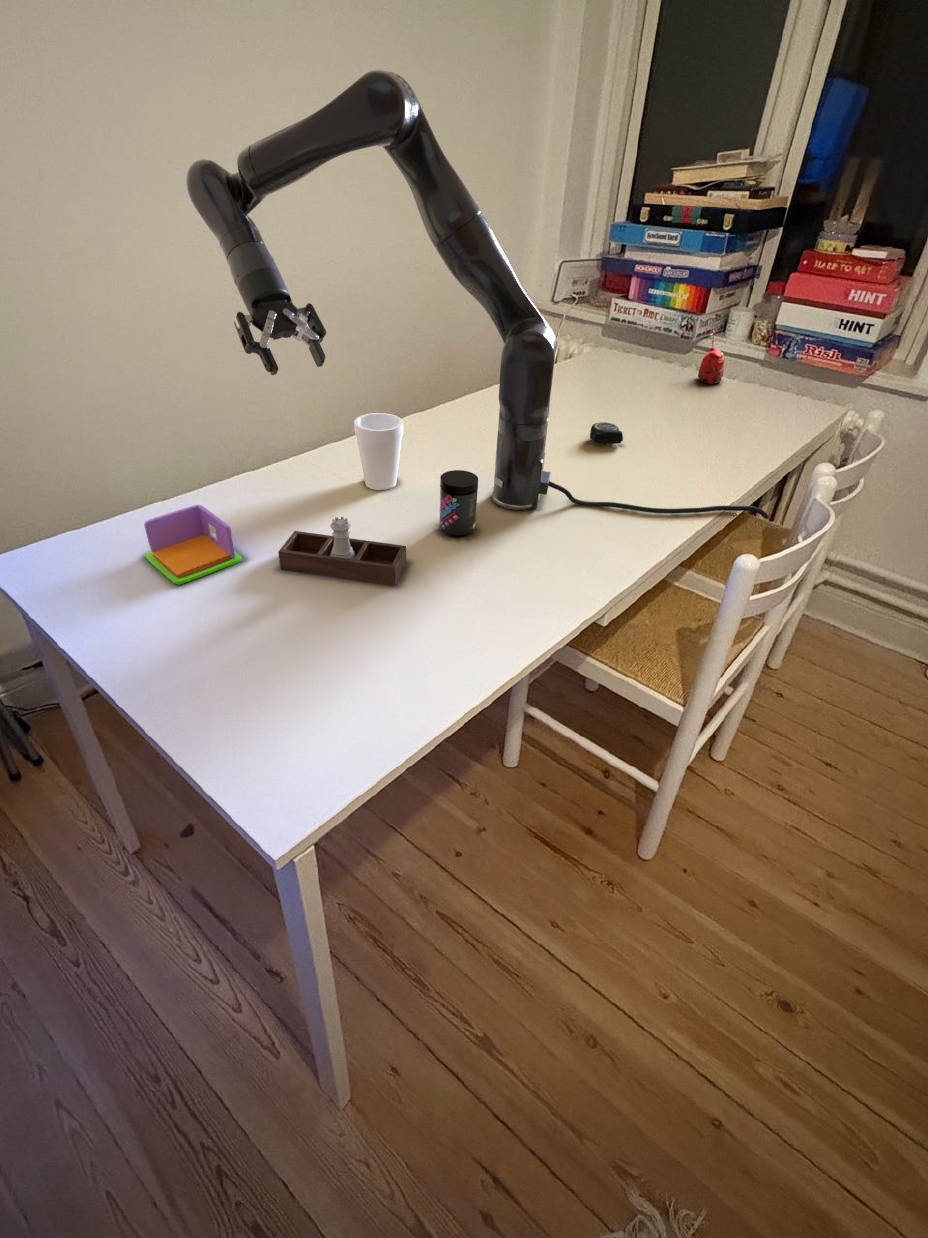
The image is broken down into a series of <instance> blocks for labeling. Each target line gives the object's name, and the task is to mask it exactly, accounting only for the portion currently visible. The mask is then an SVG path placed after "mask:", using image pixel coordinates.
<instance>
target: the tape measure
mask: <svg viewBox="0 0 928 1238" xmlns="http://www.w3.org/2000/svg"><path fill="white" fill-rule="evenodd" d="M623 436H624V435H623V432H622V430H620V428H619V426H617V424H615V423H611V422H606V421H603V422H602V421H601V422H595V423H594V424H592V425H591V428H590V431H589V438H590V440H591V441H592V442H593V443H594V444H598V445H605V446H606V445H612V444H613V445H614V444H617V445H618V444H621V443H622V442H623V441H624V437H623Z"/></svg>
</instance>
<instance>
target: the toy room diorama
mask: <svg viewBox="0 0 928 1238" xmlns="http://www.w3.org/2000/svg"><path fill="white" fill-rule="evenodd" d="M143 525H144V530H145V535H146V539H147V542H148V546H149V548H150V551H147V552H146V553H145V558H146V559H147V560H148V562H149V563H151V564H152V565H153V566H154V567H155V568H156V569H157V570H158V571H159V572H160V573H162V574H163V576H165V577H166V578H167V579H168V580H170V582H172V583H173V584H174V585H178V586H179V585H184V584H187V583H189V582H192V581H195V580H197V579H199V578H203V577H205V576H208V575H210V574H213V573H215V572H218V571H221V570H223V569H225V568H228V567H231V566H233V565H236V564H239V563H240V562H241V561H242V556H241V555H240V554H239V552H237V551H236V550H235V545H234V539H233V534H232V528H231V526H230V525H229V524H228V523H227V522H225V521H224V520H223V519H221V518H220V517H219V516H217V514H214V513H213V512H212V511H211V510H209V509H208V508H206V507H205V506H203V504H194V505H190V506H187V507H184V508H181V509H177V510H174V511H172V512H168V513H164V514H162V515H159V516H156V517H153V518H149V519H148V520H145V521H144V524H143Z"/></svg>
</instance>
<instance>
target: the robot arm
mask: <svg viewBox="0 0 928 1238" xmlns="http://www.w3.org/2000/svg"><path fill="white" fill-rule="evenodd" d="M371 147H382V148H383V149H384V150H385V152H386V153H387V154H388V156H389V157H390V158H391V160H392V161H393V163H394V164H395V166H396V167H397V169H398V170H399V171H400V174H401V175H402V176H403V178H404V179H405V181H406V183H407V185H408V187H409V189H410V192H411V194H412V196H413V198H414V201H415V205H416V207H417V210H418V213H419V216H420V219H421V221H422V223H423V226H424V229H425V232H426V234H427V235H428V238H429V239H430V241H431V243H432V245H433V247H434V248H435V250H436V252H437V253H438V255H439V257H440V258H441V260H442V261H443V263H444V265H445V266H446V268H447V269H448V271H449V272H450V273H451V275H452V276H453V278H454V279H455V280H456V281H457V282H458V283H459V284H460V286H462V287H463V288H464V289H465V291H466V292H467V293H469V294H470V296H472V297H473V298H474V300H475V301H476V302H478V303H479V305H481V306H482V308H483V309H484V311H485V312H486V313H487V314H488V316H489V318H490V319H491V321H492V322H493V324H494V326H495V328H496V330H497V332H498V334H499V336H500V338H501V340H502V342H503V347H502V350H501V357H500V368H499V386H498V405H499V411H498V424H497V437H496V451H495V464H494V478H493V487H492V497H491V498H492V501H493V502H494V503H495V504H496V505H497V506H499V507H501V508H503V509H506V510H507V509H508V510H511V511H525V510H530V509H535V510H537V509H538V507H539V504H540V498H541V495H544V496H547V495H548V491H549V487H550V488H552V489H554V490H556V491H559V492H561V493H563V495H565V496H566V497H567V499H568V500H569V501H570V502H571V503H572V504H575V505H578V506H583V507H592V508H593V507H594V508H617V509H623V510H624V509H625V510H630V511H636V512H642V513H651V514H693V513H695V514H696V513H708V512H709V513H710V512H717V511H718V512H719V511H729V512H731V511H733V512H734V511H735V512H745V511H746V512H754V513H756V514H758V515H760V516H761V517H762V518H763V519H770V516H769V515H768V513H767V512H766V511H765V510H763V509H762V508H760V507H757V506H753V505H712V506H701V507H680V508H679V507H677V508H662V507H661V508H660V507H647V506H642V505H641V506H640V505H636V504H635V505H634V504H629V503H622V502H614V501H584V500H580V499H578V498H575V497H574V496H573V494H572V493H571V492H570V491H569V490H568V489H566V488H565V487H564V486H561V485H560V484H558V483H555V482H552V481H551V471H546V470H545V471H544V467H545V458H546V445H547V443H546V442H547V436H548V435H547V434H548V426H549V419H550V410H551V396H552V387H553V377H554V369H555V363H556V362H555V361H556V358H557V355H558V349H559V348H558V340H557V336H556V333H555V332H554V330H553V328H552V327H551V326H550V325H549V323H548V322H547V320H545V318H544V316H543V315H542V314H541V313H540V311H539V310H538V308H537V307H536V305H535V303H533V301H532V300H531V299H530V297H529V296H528V295H527V293H526V291H525V290H524V288H523V287H522V285H521V284H520V281H519V279H518V277H517V276H516V273H515V271H514V270H513V269H514V268H513V267H512V265H511V262H510V261H509V259H508V256H507V255H506V253H505V252H504V250H503V248H502V246H501V244H500V242H499V241H498V238H497V236H496V235H495V233H494V231H493V229H492V227H491V225H490V224H489V222H488V220H487V218H486V217H485V215H484V214H483V211H482V210H481V208H480V207H479V205H478V204H477V203H476V200H475V199H474V198H473V196H472V195H471V193H470V191H469V189H468V188H467V187H466V184H464V182H463V180H462V178H461V177H460V176H459V174H458V172H457V171H456V169H454V167H453V166H452V164H451V163H450V161H449V160H448V158H447V157H446V155H445V154H444V153H445V152H444V151H443V149H442V148H441V146H440V144H439V142H438V140H437V138H436V136H435V134H434V132H433V129H432V128H431V126H430V123H429V121H428V119H427V117H426V114H425V112H424V110H423V108H422V105H421V103H420V102H419V99H418V97H417V94H416V93H415V90H414V89H413V88H412V86H411V85H410V83H409V82H408V81H407V80H406V79H405V78H404V77H402V76H401V75H400V74H398V73H395V72H392V71H387V70H381V69H376V70H370V71H368V72H366V73H364V74H362V75H361V77H359V78H358V79H357V80H356V81H354V82H353V83H352V84H351V85H350V86H348V87H347V88H346V89H345V90H344V91H342V92H341V93H340V94H339V95H338V96H336V97H335V98H334V99H333V100H331V101H329V102H328V103H327V104H326V105H324V106H322V107H321V108H320V109H318V110H317V111H315V112H314V113H312V114H310V115H308V116H307V117H304V118H303V119H301V120H299V121H296V122H295V123H293V124H291V125H289V126H286V127H284V128H282V129H280V130H277V131H275V132H274V133H271V134H270V135H267V136H265V137H263V138H261V139H259V140H257V141H256V142H254V143H251V144H250V145H248V146H246V147H244V148H243V149H241V151H240V152H238V154H237V157H236V167H237V172H235V173H231V172H230V171H228V170H227V169H225V168H224V167H223V166H222V165H219V164H218V163H217V162H215V161H213V160H211V159H208V158H199V159H196V160H195V161H193V162H192V163H191V164H190V165H189V166H188V168H187V170H186V174H185V186H186V191H187V194H188V197H189V199H190V202H191V203H192V205H193V207H194V209H195V211H196V212H197V213H198V215H199V216H200V218H201V219H202V221H203V222H204V224H205V226H206V227H207V228H208V230H209V231H210V232H211V233H212V234H213V236H214V238H215V239H216V241H217V242H218V245H219V247H220V250H221V252H222V255H223V256H224V258H225V261H226V263H227V265H228V269H229V271H230V274H231V278H232V280H233V283H234V286H236V288H237V290H238V292H239V295H240V298H241V299H242V302H243V303H244V306H245V308H246V310H247V312H248V313H249V314H244V312H242V311H238V312H237V313H236V316H235V319H234V322H233V325H234V327H235V330H236V332H237V335H238V338H239V340H240V342H241V345H242V348H243V350H244V352H245V354H247V355H250V354H251V355H252V354H256V355H257V356H259V358H260V360H261V363H262V364H263V365H262V366H263V367H264V369H265V371H266V372H267V373H270V375H271V376H275V375H277V374H278V371H279V366H278V363H277V361H276V359H275V357H274V355H273V352H272V350H271V348H270V347H268V345H269V340H270V339H273V341H276V340H280V339H282V338H283V339H288V338H289V339H290V338H291V337H292V338H294V339H295V340H297V341H298V342H302V343H304V344H305V345H307V346H308V350H309V352H310V354H311V357H312V359H313V360H314V363H315V365H316V367H317V368H321V367H323V365H324V364H325V361H326V354H325V351H324V348H323V347H322V342H323V341H324V338H325V336H326V335H327V330H326V328H325V326H324V324H323V322H322V320H321V319H320V316H319V315H318V313H317V311H316V308H315V307H314V305H313V304H312V303H307V304H306V305H305V306H304V307H299V308H298V307H297V306H296V305H295V304H294V303H293V300H292V297H291V293H290V292H289V289H288V288H287V286H286V283H285V281H284V279H283V277H282V274H281V272H280V270H279V268H278V266H277V264H276V261H275V259H274V257H273V256H272V254H271V253H270V251H269V249H268V247H267V245H266V243H265V241H264V238H263V237H262V234H261V233H260V229H259V228H258V227H257V225H256V223H255V221H254V220H253V219H252V218H251V217H250V216H249V214H250V213H251V212H252V211H253V210H254V209H256V208H257V207H258V206H259V205H260V204H261V203H262V202H263V201H264V200H265V199H266V197H267V196H269V195H271V194H274V193H277V192H278V191H280V190H282V189H284V188H286V187H289V186H290V185H292V184H294V183H296V182H298V181H300V180H301V179H304V178H305V177H306V176H308V175H310V174H311V173H313V172H314V171H315V170H317V169H318V168H320V167H321V166H324V165H325V164H326V163H328V162H330V161H331V160H333V159H337V158H338V157H340V156H343V155H346V154H348V153H351V152H355V151H358V150H363V149H368V148H371ZM300 318H301V319H300ZM251 325H252V326H253V327H254V328H256V329H257V330H259V331H260V337H259V340H258V341H255V338H254V336H253V333H252V332H251ZM297 328H298V330H299V331H298V330H297Z"/></svg>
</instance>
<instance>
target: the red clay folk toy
mask: <svg viewBox="0 0 928 1238" xmlns="http://www.w3.org/2000/svg"><path fill="white" fill-rule="evenodd" d="M711 329H712V331H711V330H710V331H709V334H708V336H709V338H711V337H712V340H711V343H712V346H711V347H710V349H709V350H708V352H707V353H706V354H705V355H704V356H703V358H702V360H701V362H700V366H699V370H698V371H697V372H698V373H697V378H698V379H699V380H700V381H701V382H702V383H706V384H708V385H714V384H718V383H720V382H721V381H722V377H724V373H725V359H724V353H723V352H722V351H721V349H719V348H715V346H714V345H715V341H716V340H715V339H714V338H715V335H714V334H715V333H716V332H719V331H718V329H716V330H714V327H713V326H711Z"/></svg>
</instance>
